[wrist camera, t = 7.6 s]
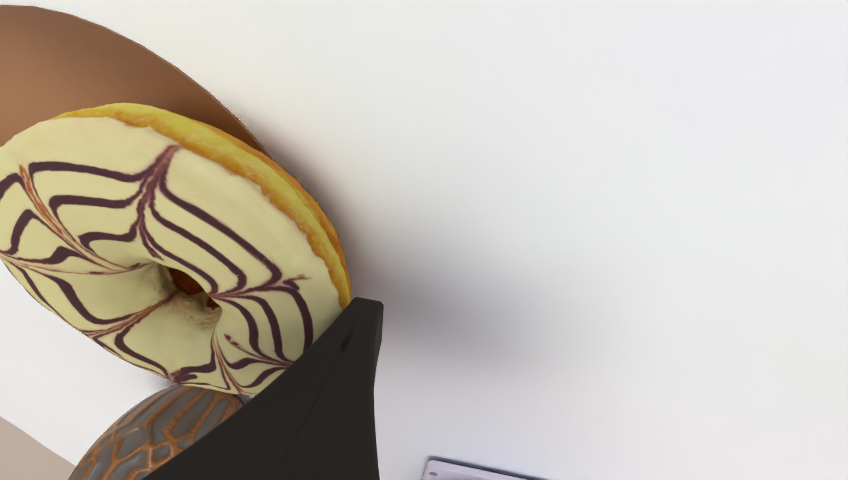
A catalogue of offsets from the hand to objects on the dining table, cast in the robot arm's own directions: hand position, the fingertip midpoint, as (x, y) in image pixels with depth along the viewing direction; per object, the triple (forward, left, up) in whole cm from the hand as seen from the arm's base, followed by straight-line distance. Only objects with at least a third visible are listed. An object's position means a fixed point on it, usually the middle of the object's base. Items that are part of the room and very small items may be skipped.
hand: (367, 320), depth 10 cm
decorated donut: (0, +6, -2) cm, 6 cm away
